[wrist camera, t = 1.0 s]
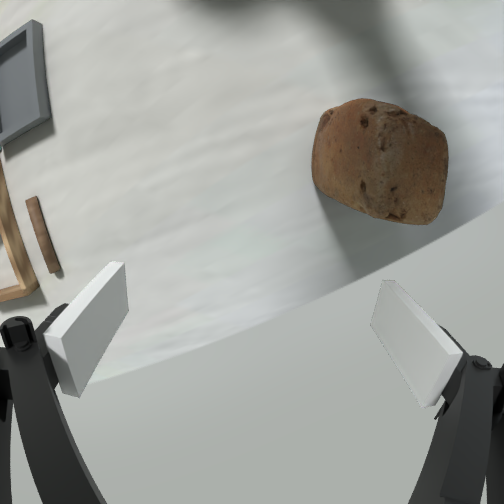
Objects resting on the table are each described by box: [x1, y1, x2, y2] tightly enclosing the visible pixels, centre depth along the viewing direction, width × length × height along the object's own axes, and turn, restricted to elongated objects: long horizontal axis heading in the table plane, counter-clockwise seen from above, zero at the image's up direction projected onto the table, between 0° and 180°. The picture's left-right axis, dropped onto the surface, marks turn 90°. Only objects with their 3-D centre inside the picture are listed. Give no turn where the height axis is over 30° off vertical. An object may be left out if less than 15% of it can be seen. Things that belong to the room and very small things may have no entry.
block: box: [312, 98, 449, 225], centre depth 28 cm, size 11×8×20 cm
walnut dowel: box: [25, 196, 60, 274], centre depth 39 cm, size 12×2×2 cm, turn 12°
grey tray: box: [0, 19, 52, 147], centre depth 30 cm, size 17×11×3 cm, turn 12°
